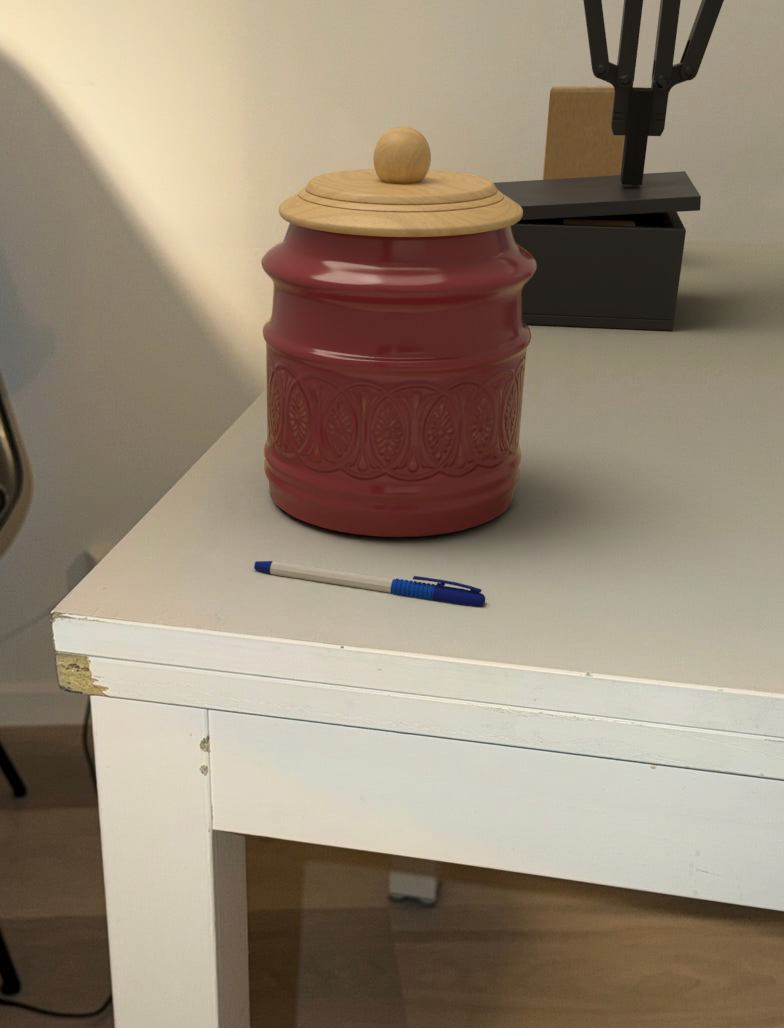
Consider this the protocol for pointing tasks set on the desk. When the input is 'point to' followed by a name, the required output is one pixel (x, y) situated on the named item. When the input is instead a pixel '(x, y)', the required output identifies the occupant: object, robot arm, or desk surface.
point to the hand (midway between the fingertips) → (630, 181)
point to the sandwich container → (581, 133)
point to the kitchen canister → (396, 348)
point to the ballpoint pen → (379, 583)
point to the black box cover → (602, 196)
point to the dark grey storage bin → (603, 271)
